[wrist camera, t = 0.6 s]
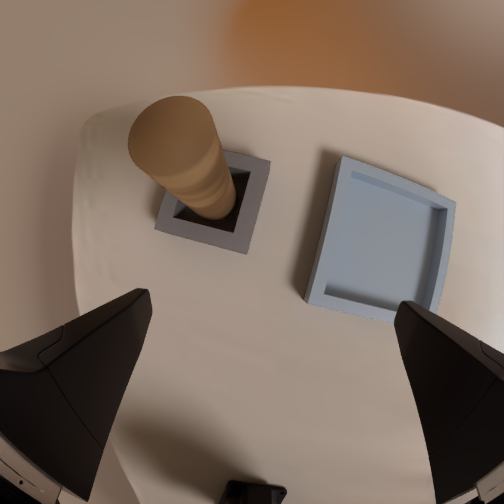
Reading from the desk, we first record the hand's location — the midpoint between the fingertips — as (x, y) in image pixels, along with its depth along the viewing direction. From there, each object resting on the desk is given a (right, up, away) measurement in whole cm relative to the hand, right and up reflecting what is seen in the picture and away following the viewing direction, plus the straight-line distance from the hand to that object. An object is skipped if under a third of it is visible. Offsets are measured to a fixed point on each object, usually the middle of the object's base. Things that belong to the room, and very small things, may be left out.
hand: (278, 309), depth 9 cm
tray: (+11, +2, +13) cm, 17 cm away
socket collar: (-4, +6, +14) cm, 15 cm away
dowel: (-4, +6, +14) cm, 15 cm away
